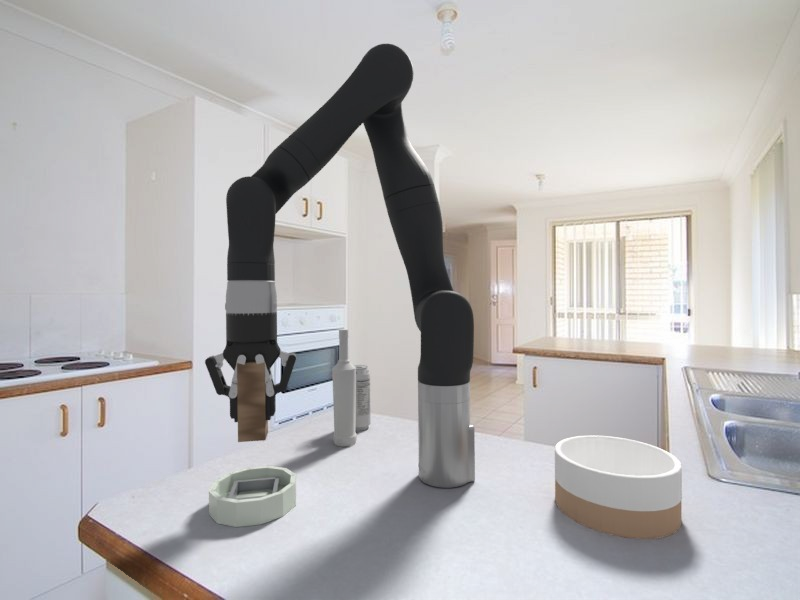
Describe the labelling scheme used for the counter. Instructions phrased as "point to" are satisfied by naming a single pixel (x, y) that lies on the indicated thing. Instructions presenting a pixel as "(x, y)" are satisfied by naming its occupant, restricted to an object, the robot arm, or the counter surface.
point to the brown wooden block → (251, 402)
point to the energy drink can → (362, 398)
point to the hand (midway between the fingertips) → (253, 419)
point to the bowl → (619, 486)
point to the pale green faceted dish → (252, 496)
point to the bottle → (344, 395)
